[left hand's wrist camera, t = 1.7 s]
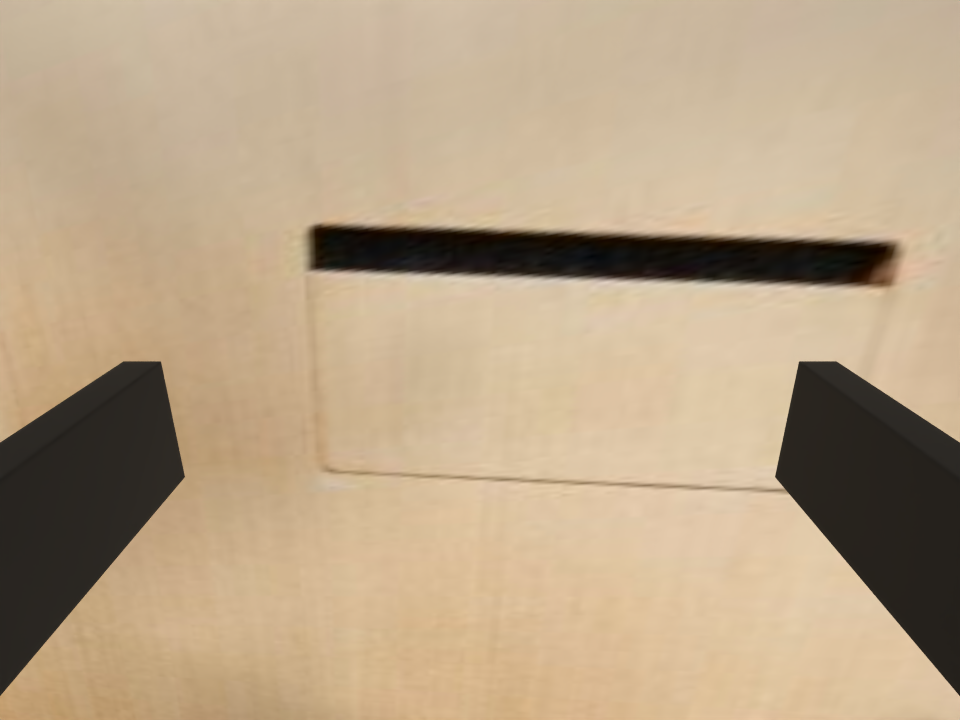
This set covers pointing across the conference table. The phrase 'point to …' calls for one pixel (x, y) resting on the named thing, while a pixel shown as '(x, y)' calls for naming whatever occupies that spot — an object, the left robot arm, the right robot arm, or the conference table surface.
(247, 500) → the conference table surface
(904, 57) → the conference table surface
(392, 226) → the conference table surface
